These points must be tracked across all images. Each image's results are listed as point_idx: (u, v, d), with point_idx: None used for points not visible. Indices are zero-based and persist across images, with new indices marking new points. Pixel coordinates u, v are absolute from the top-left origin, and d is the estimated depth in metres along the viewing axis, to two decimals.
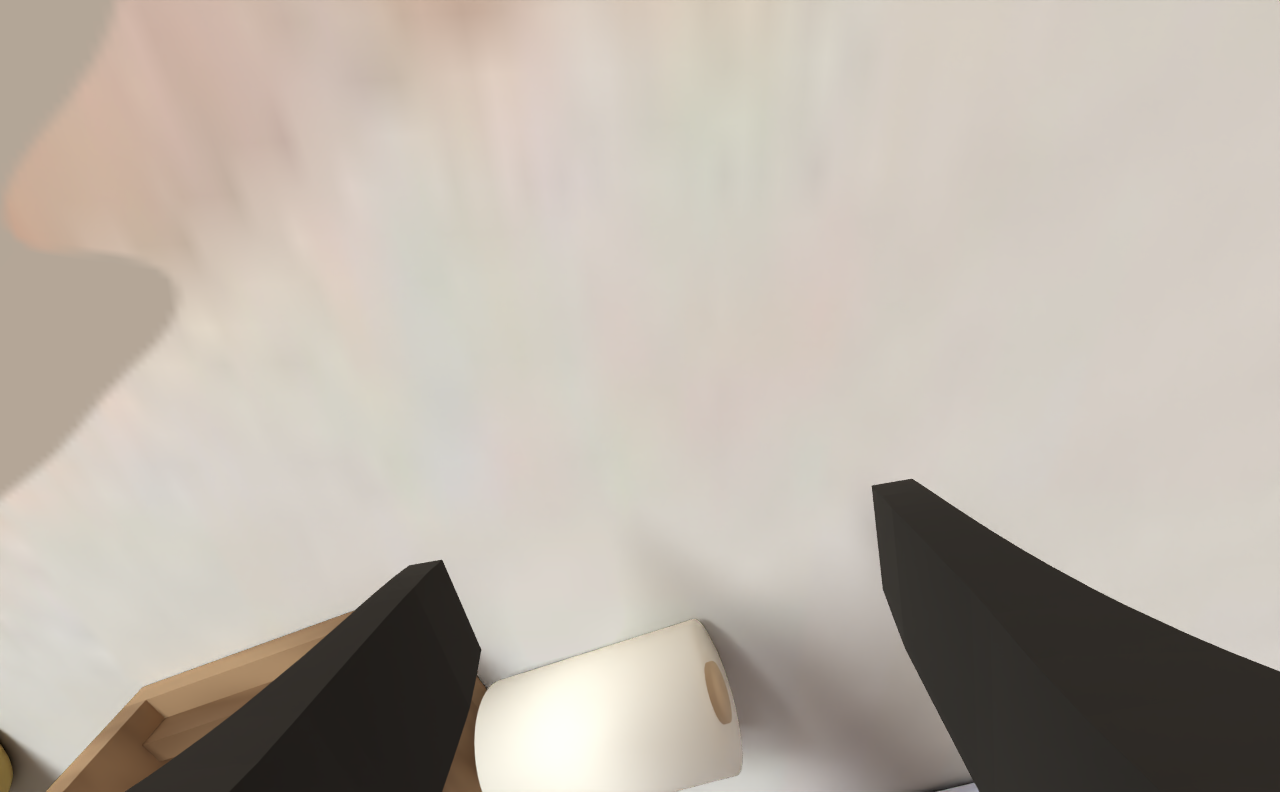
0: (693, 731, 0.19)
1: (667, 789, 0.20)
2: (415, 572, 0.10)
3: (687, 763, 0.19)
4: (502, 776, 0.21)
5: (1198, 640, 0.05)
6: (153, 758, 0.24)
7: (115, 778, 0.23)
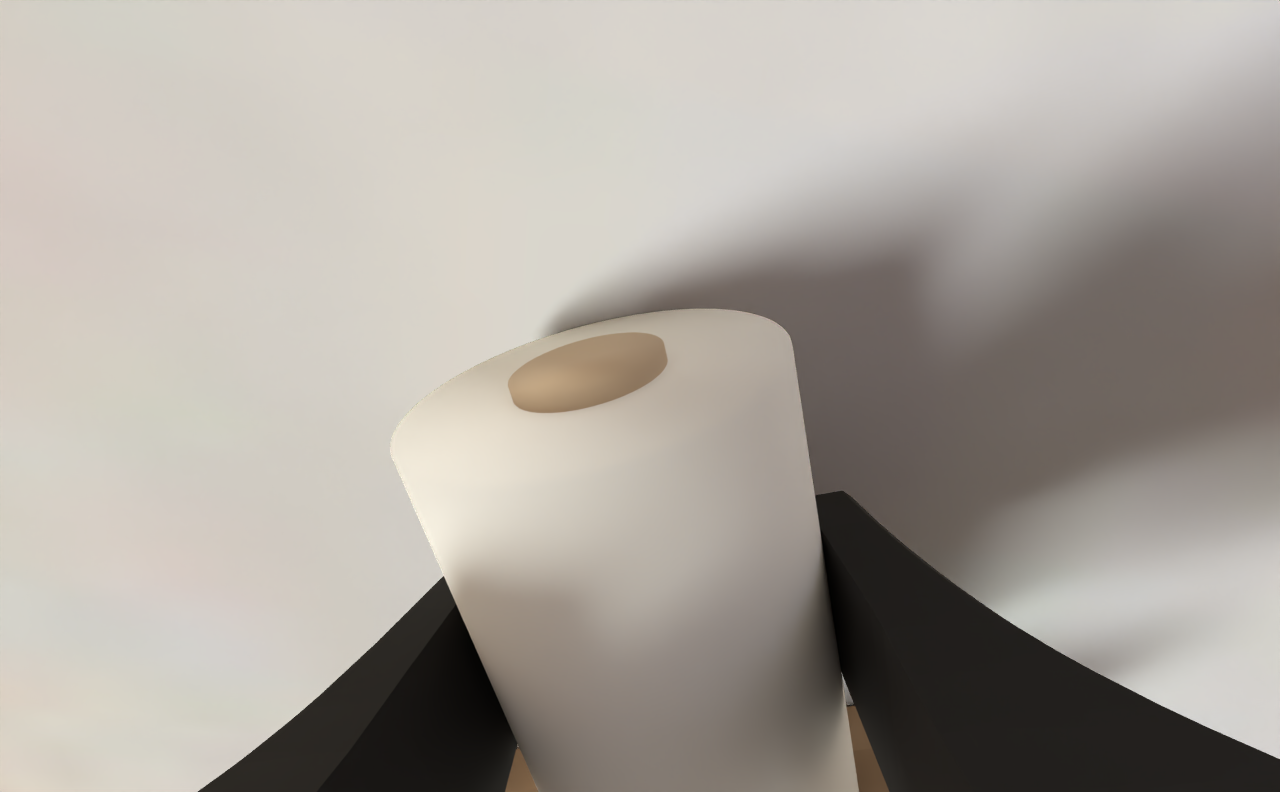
0: (464, 522, 0.06)
1: (696, 636, 0.06)
2: None
3: (564, 572, 0.06)
4: None
5: (1066, 657, 0.05)
6: None
7: None
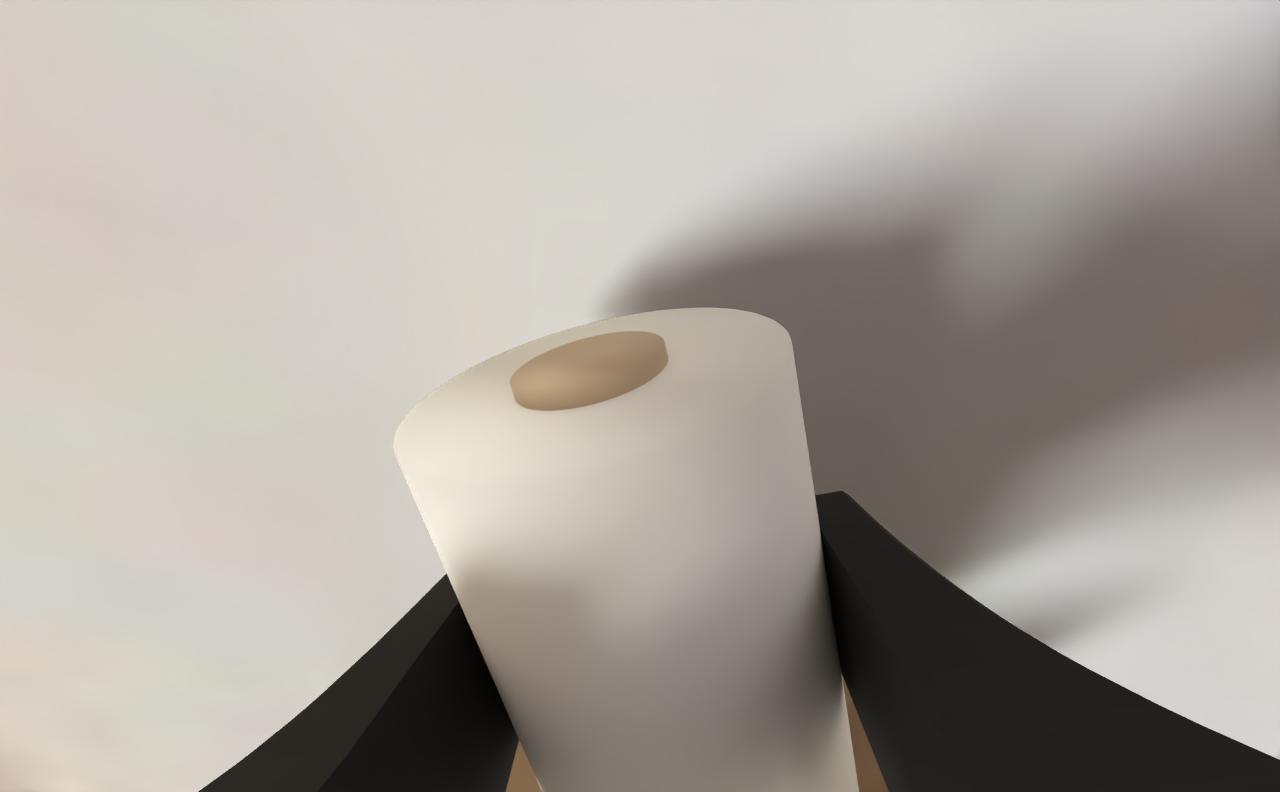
0: (470, 518, 0.06)
1: (700, 628, 0.07)
2: None
3: (569, 568, 0.06)
4: None
5: (1065, 657, 0.05)
6: None
7: None
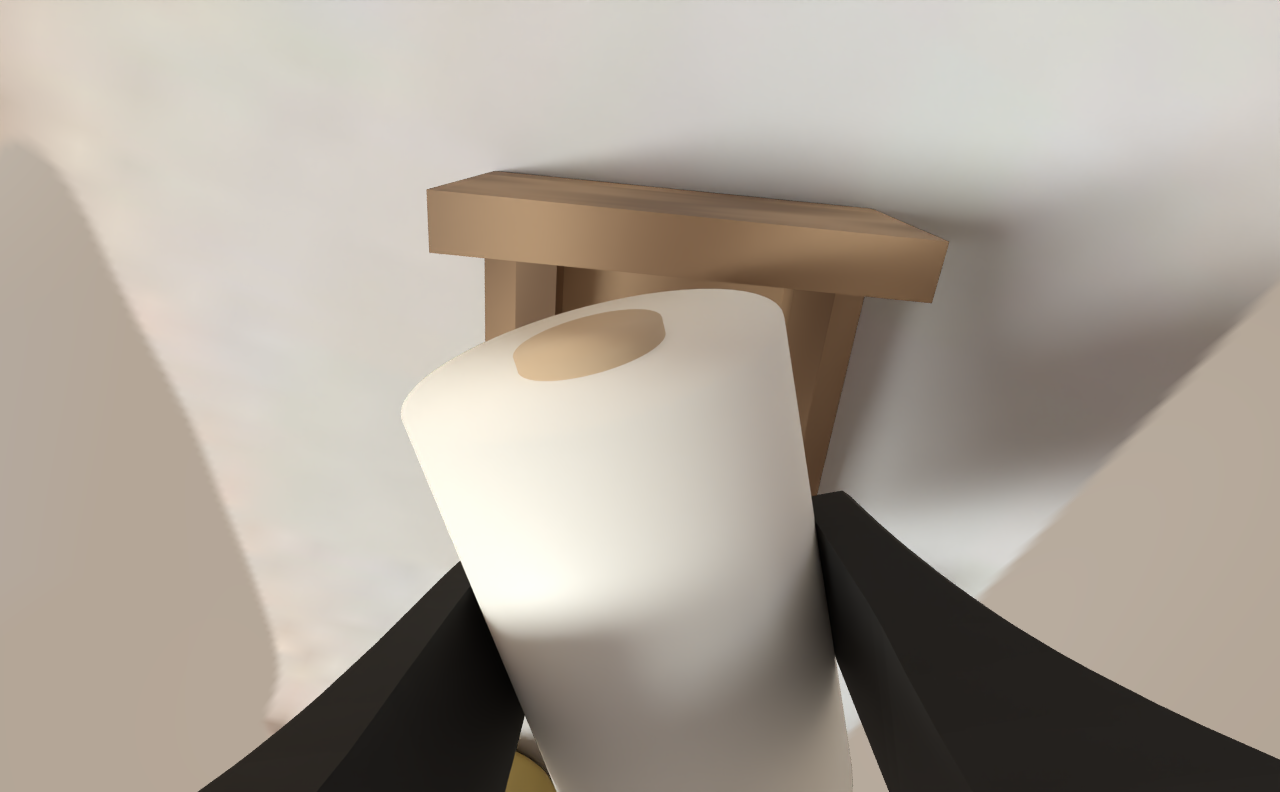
0: (495, 480, 0.06)
1: (717, 577, 0.07)
2: None
3: (595, 521, 0.06)
4: None
5: (1066, 657, 0.05)
6: None
7: None
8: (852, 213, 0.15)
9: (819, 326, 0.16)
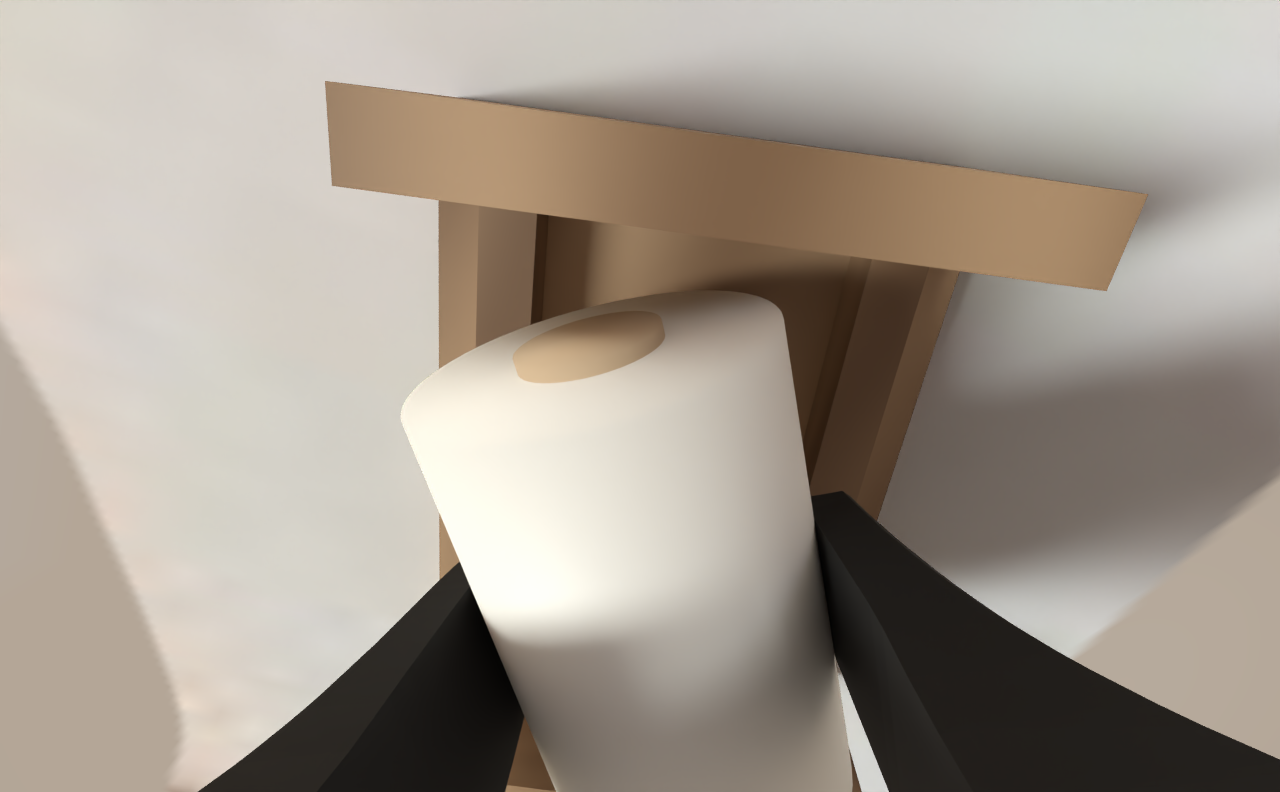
0: (495, 482, 0.06)
1: (717, 580, 0.07)
2: None
3: (594, 523, 0.06)
4: None
5: (1066, 658, 0.05)
6: None
7: None
8: (955, 166, 0.11)
9: (899, 323, 0.11)
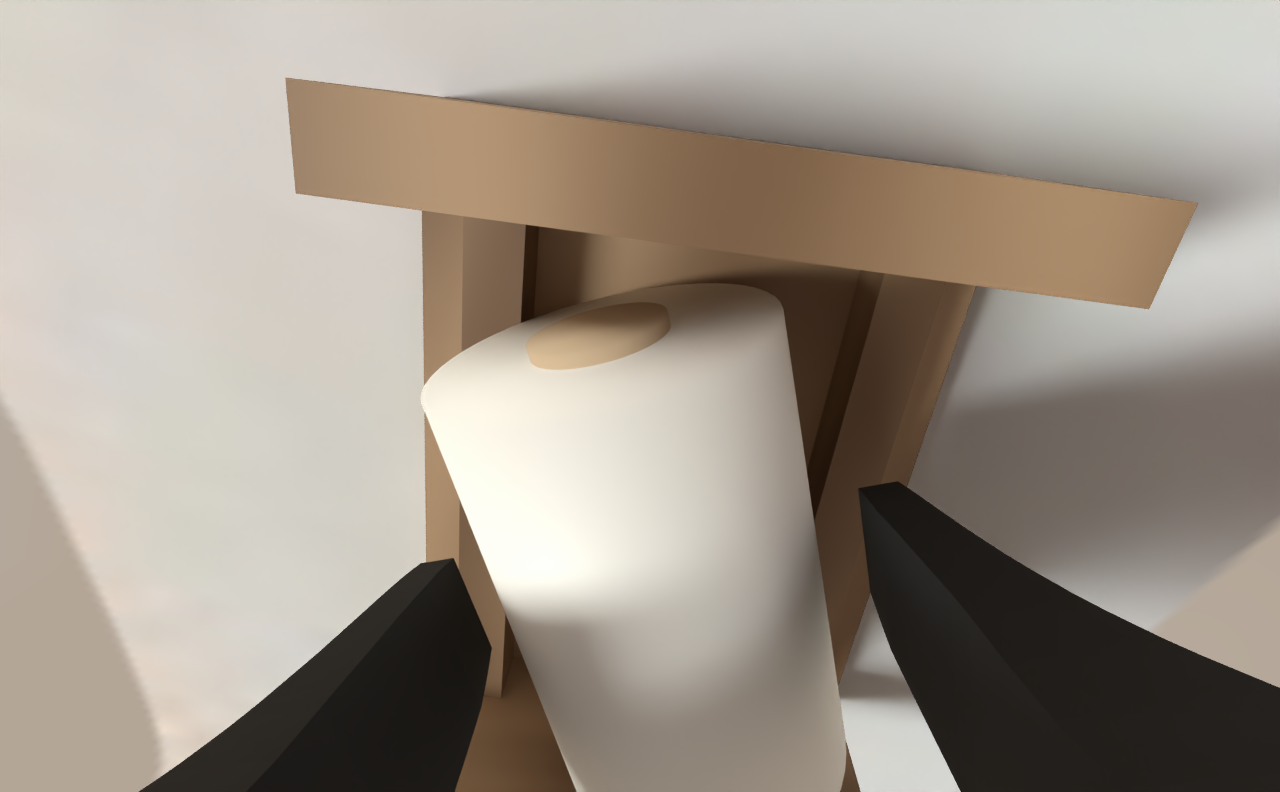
0: (517, 461, 0.07)
1: (724, 552, 0.07)
2: (427, 569, 0.10)
3: (612, 499, 0.07)
4: None
5: (1171, 644, 0.05)
6: (486, 698, 0.14)
7: None
8: None
9: (914, 339, 0.10)
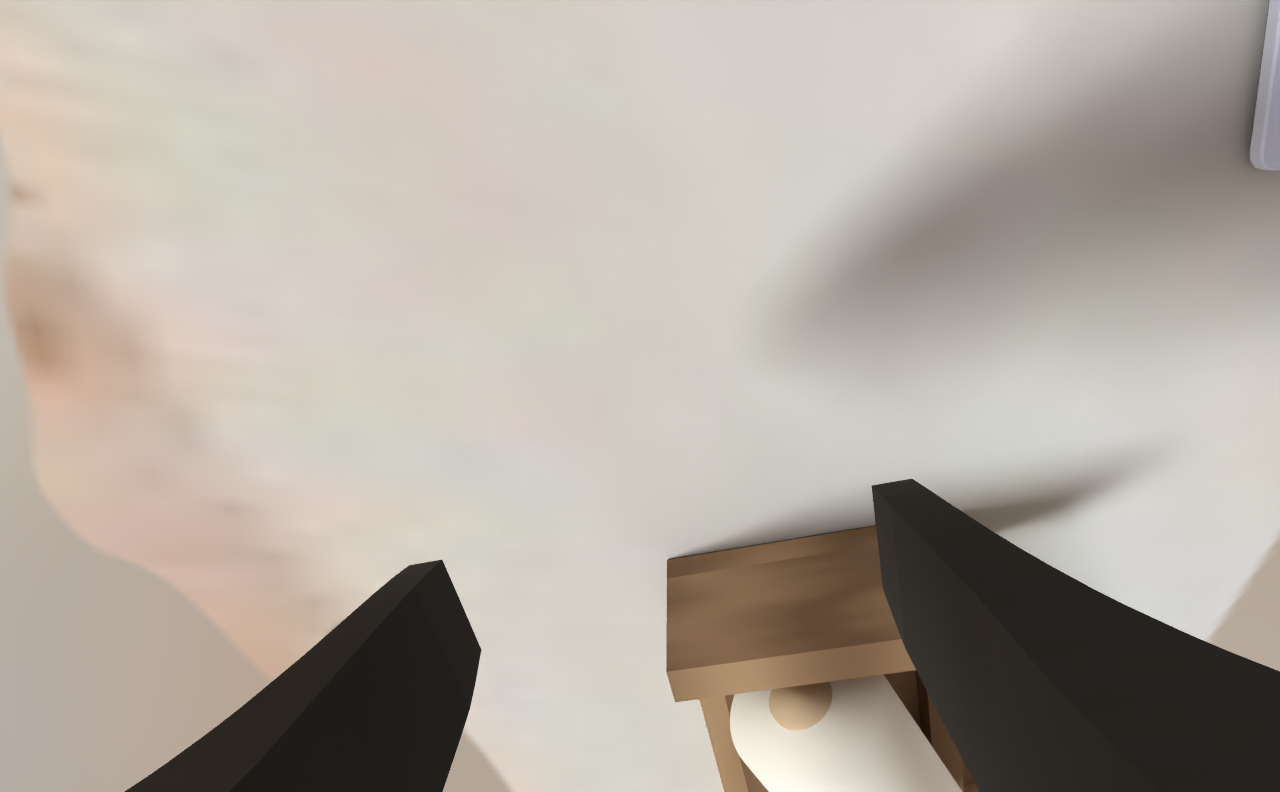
0: (799, 791, 0.17)
1: None
2: (415, 571, 0.10)
3: None
4: None
5: (1198, 640, 0.05)
6: None
7: None
8: None
9: None
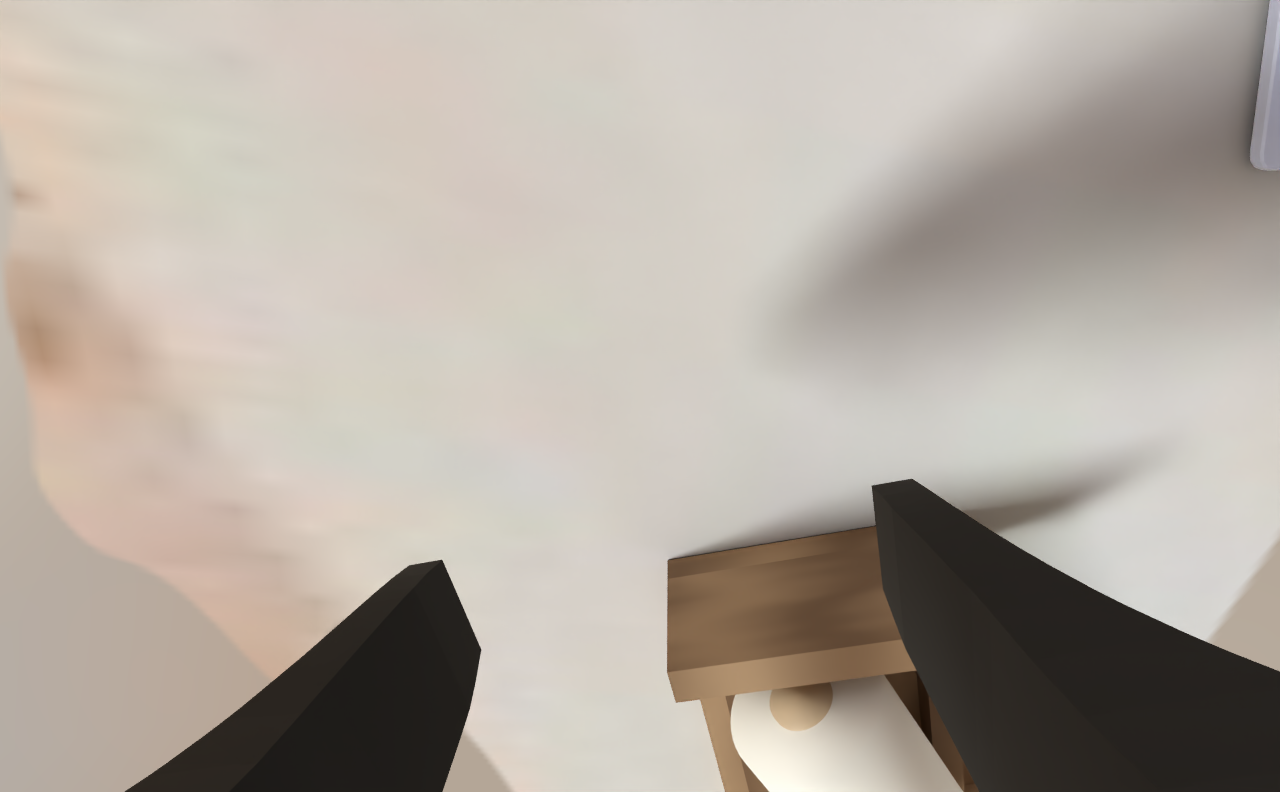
0: (800, 791, 0.17)
1: None
2: (415, 571, 0.10)
3: None
4: None
5: (1198, 640, 0.05)
6: None
7: None
8: None
9: None
